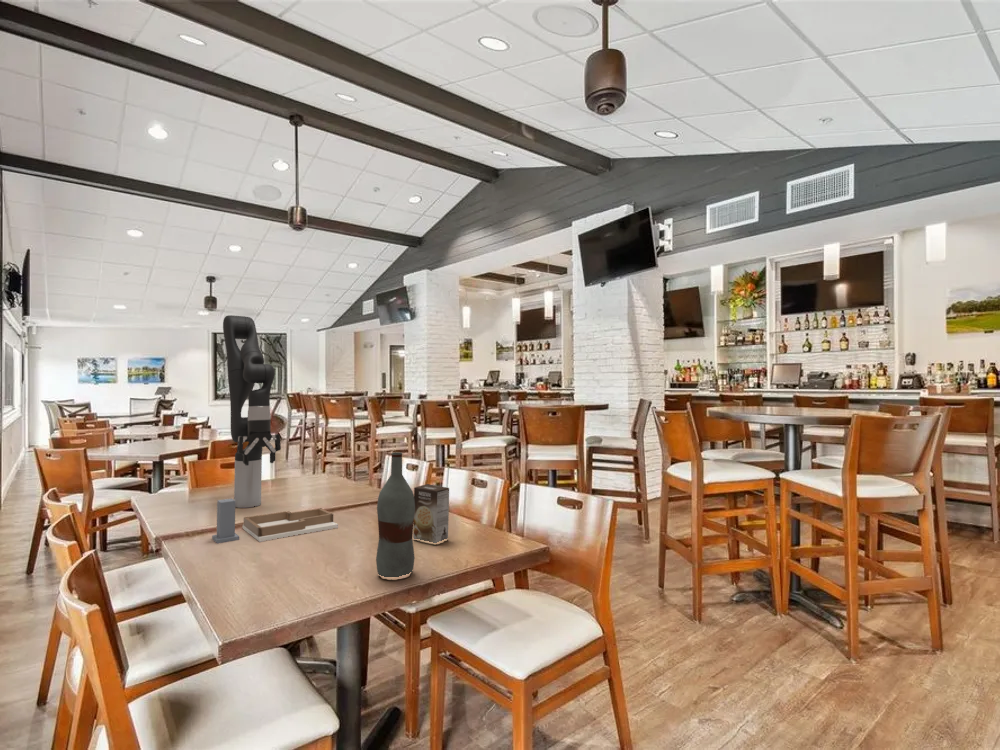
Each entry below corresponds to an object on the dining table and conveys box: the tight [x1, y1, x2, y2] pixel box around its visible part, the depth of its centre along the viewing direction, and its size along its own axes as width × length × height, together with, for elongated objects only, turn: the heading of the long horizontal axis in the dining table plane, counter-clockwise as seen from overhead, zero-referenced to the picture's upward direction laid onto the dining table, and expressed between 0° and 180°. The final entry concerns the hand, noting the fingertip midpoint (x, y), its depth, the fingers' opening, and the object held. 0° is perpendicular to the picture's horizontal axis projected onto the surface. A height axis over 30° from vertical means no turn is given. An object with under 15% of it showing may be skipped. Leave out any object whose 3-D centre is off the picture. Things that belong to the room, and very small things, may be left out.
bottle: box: [375, 451, 416, 577], centre depth 131 cm, size 9×9×30 cm
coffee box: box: [412, 483, 450, 543], centre depth 159 cm, size 9×6×16 cm
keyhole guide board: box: [242, 507, 339, 543], centre depth 170 cm, size 18×24×4 cm
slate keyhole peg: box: [211, 498, 240, 544], centre depth 158 cm, size 6×6×12 cm
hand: (259, 464), depth 190 cm, fingers open, 8 cm apart
